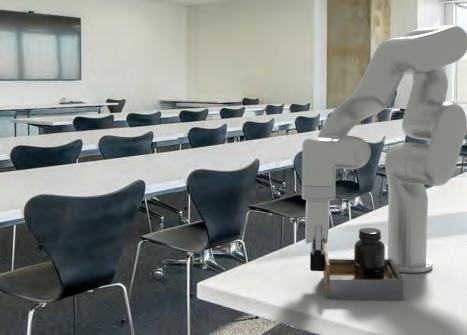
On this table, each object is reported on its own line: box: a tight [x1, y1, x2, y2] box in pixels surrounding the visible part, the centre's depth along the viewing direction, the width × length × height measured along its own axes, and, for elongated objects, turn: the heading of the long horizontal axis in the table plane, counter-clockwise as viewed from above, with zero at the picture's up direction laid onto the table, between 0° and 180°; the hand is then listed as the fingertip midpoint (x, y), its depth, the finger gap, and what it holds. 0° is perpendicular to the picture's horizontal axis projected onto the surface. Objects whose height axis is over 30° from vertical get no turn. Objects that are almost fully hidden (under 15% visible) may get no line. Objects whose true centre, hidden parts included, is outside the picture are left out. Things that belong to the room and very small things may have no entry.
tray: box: [322, 244, 395, 297], centre depth 134 cm, size 15×16×7 cm
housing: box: [328, 258, 405, 302], centre depth 134 cm, size 15×16×5 cm
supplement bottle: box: [353, 227, 386, 279], centre depth 133 cm, size 7×7×12 cm
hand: (317, 269), depth 135 cm, fingers closed
